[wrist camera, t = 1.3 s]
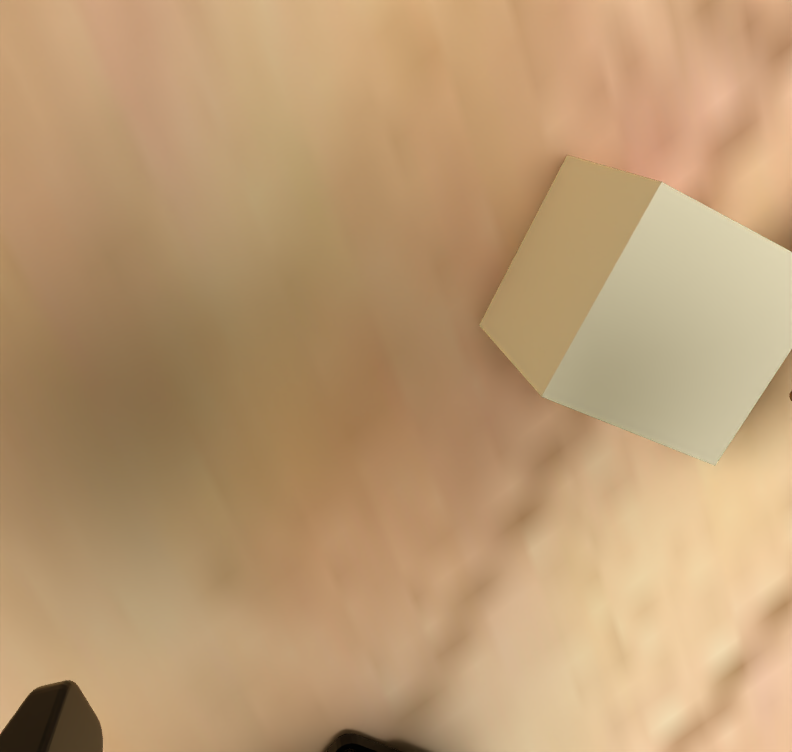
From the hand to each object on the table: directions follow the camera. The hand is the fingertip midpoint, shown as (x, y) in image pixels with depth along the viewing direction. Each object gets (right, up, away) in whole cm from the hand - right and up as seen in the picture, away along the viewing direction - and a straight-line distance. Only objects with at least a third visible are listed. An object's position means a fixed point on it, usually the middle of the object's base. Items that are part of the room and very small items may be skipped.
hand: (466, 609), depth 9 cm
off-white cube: (+5, +5, +12) cm, 14 cm away
